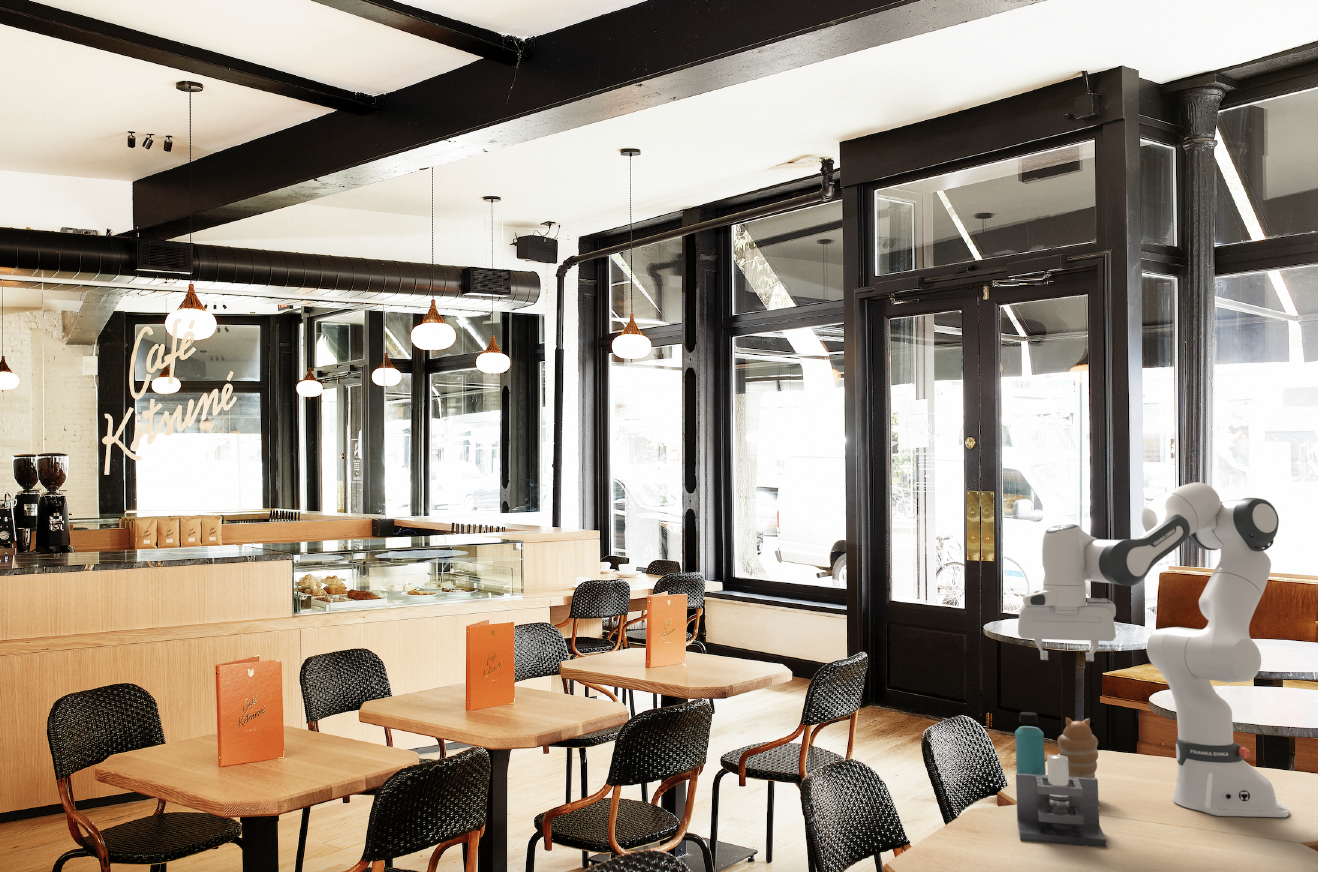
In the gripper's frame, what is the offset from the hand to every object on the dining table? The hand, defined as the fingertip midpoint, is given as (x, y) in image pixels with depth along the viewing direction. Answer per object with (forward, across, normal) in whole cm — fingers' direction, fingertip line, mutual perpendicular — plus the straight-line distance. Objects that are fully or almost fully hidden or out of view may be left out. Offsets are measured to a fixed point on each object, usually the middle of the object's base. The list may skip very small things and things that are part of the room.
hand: (1067, 660), depth 226 cm
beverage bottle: (+33, +8, -7) cm, 35 cm away
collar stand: (+33, +4, +17) cm, 37 cm away
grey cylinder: (+32, +4, +17) cm, 36 cm away
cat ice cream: (+33, -3, -14) cm, 36 cm away
